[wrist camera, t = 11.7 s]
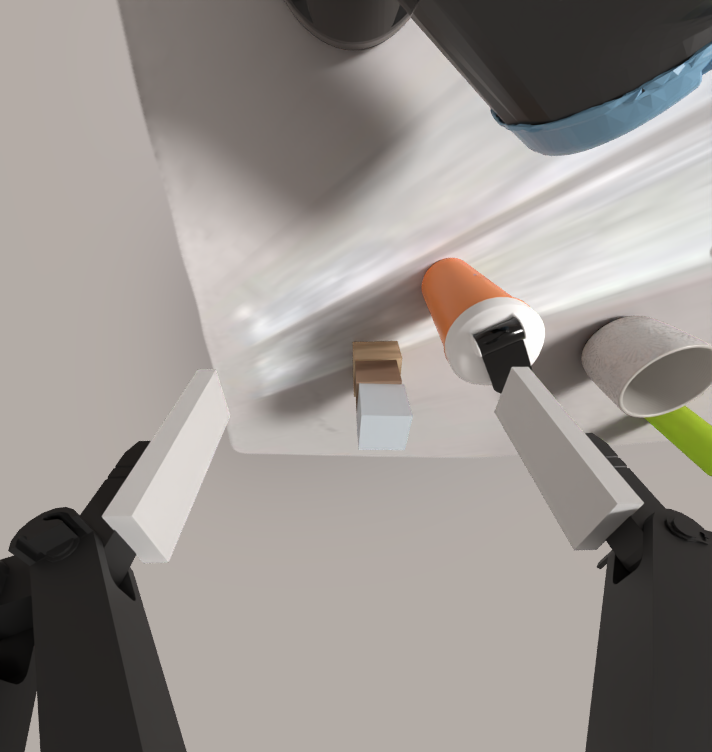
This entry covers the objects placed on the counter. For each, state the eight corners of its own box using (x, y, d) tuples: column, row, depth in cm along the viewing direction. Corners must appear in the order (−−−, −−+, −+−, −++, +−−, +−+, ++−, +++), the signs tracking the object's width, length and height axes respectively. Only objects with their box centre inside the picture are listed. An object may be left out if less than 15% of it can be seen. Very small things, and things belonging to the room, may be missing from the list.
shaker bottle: (433, 324, 47) (481, 416, 30) (402, 277, 42) (439, 357, 26) (489, 289, 44) (574, 371, 27) (461, 235, 39) (544, 295, 23)
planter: (673, 324, 48) (747, 363, 39) (607, 382, 55) (657, 426, 46) (618, 295, 45) (685, 330, 36) (555, 360, 51) (598, 404, 43)
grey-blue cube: (359, 383, 40) (361, 415, 35) (404, 384, 41) (412, 416, 36) (356, 416, 44) (358, 449, 39) (398, 417, 44) (404, 450, 39)
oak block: (352, 341, 48) (353, 359, 44) (397, 340, 48) (402, 358, 44) (353, 377, 52) (354, 396, 48) (394, 376, 52) (398, 395, 48)
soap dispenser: (638, 406, 58) (749, 503, 42) (679, 393, 57) (812, 489, 41) (636, 425, 62) (739, 523, 46) (675, 413, 60) (797, 510, 44)
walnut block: (354, 361, 44) (356, 382, 40) (396, 359, 44) (401, 380, 40) (355, 393, 48) (356, 415, 44) (394, 391, 48) (398, 414, 44)
